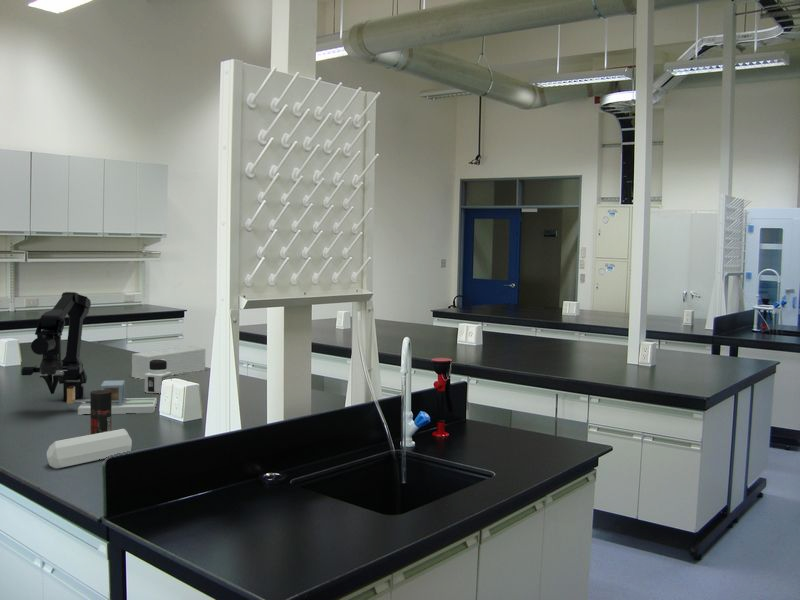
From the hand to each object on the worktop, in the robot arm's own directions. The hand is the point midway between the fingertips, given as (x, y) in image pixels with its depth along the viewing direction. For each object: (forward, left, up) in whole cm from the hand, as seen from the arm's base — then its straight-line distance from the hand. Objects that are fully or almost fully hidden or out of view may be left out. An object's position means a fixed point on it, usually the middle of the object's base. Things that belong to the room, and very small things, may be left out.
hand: (52, 393), depth 255 cm
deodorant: (+21, -40, -6) cm, 46 cm away
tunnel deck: (+22, 0, -6) cm, 23 cm away
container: (+33, +29, -6) cm, 45 cm away
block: (+20, 0, -2) cm, 20 cm away
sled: (+15, 0, -3) cm, 15 cm away
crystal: (+21, -59, -7) cm, 63 cm away
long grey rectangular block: (+36, +66, -7) cm, 76 cm away
